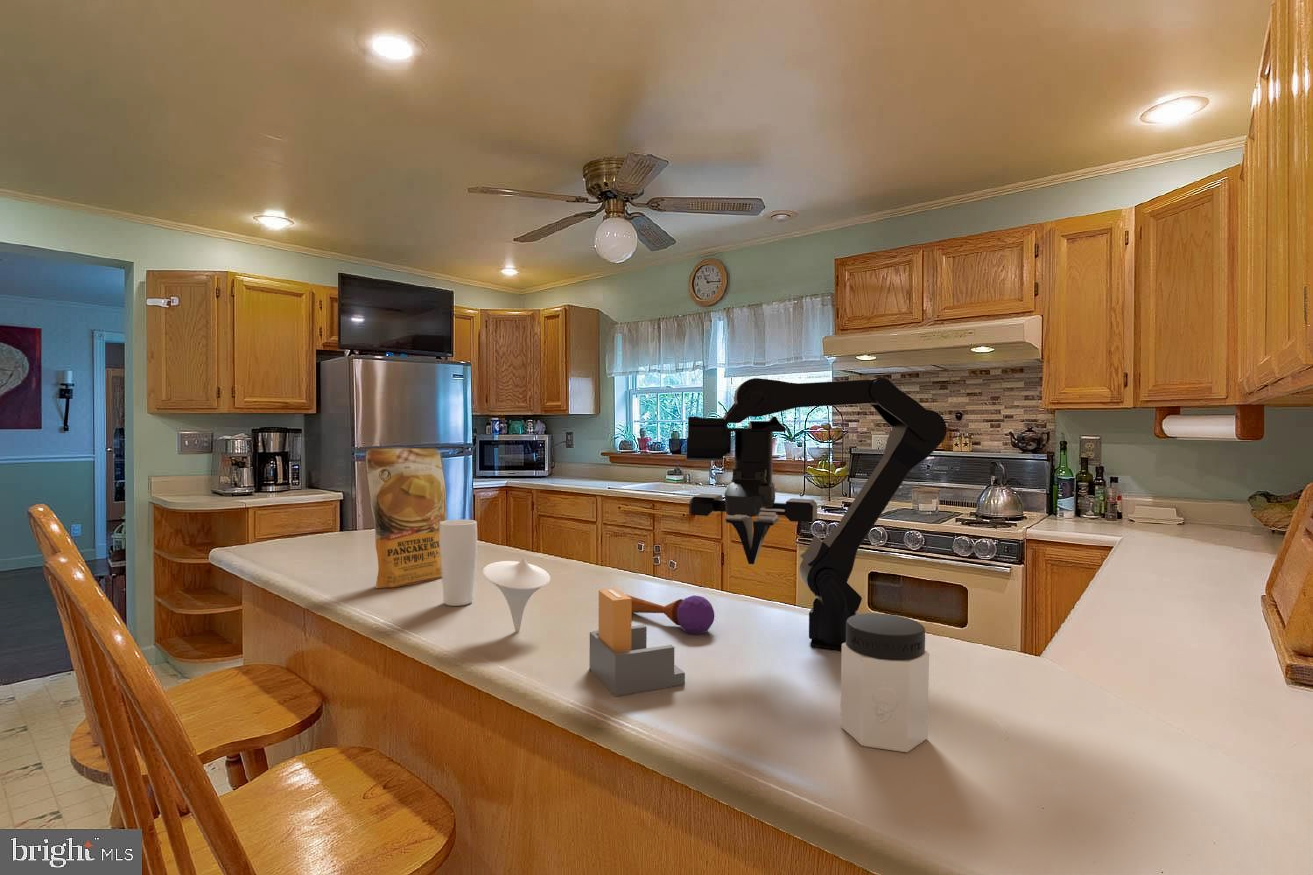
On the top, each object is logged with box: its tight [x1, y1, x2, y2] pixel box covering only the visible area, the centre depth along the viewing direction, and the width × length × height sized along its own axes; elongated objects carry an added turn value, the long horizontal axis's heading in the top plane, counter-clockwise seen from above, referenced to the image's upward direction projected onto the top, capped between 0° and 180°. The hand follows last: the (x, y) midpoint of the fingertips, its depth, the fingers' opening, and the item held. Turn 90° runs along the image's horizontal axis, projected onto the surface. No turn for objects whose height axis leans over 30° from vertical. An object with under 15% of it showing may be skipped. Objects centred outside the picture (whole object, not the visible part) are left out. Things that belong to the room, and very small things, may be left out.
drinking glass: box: [439, 518, 478, 607], centre depth 122 cm, size 7×7×15 cm
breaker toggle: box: [598, 587, 633, 653], centre depth 86 cm, size 2×6×10 cm, turn 24°
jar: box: [840, 612, 930, 754], centre depth 72 cm, size 9×8×12 cm
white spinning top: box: [482, 557, 551, 633], centre depth 106 cm, size 10×11×12 cm
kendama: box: [626, 594, 715, 635], centre depth 111 cm, size 6×6×20 cm
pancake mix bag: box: [364, 447, 448, 589], centre depth 138 cm, size 7×19×28 cm, turn 142°
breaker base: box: [588, 624, 686, 697], centre depth 87 cm, size 10×10×5 cm
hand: (751, 563), depth 101 cm, fingers closed
